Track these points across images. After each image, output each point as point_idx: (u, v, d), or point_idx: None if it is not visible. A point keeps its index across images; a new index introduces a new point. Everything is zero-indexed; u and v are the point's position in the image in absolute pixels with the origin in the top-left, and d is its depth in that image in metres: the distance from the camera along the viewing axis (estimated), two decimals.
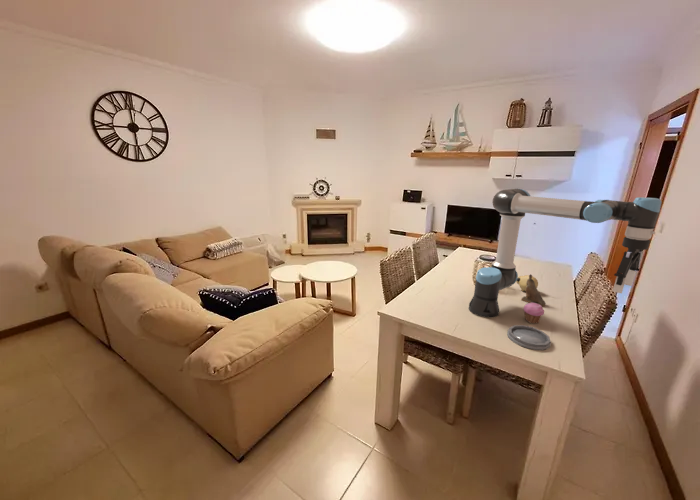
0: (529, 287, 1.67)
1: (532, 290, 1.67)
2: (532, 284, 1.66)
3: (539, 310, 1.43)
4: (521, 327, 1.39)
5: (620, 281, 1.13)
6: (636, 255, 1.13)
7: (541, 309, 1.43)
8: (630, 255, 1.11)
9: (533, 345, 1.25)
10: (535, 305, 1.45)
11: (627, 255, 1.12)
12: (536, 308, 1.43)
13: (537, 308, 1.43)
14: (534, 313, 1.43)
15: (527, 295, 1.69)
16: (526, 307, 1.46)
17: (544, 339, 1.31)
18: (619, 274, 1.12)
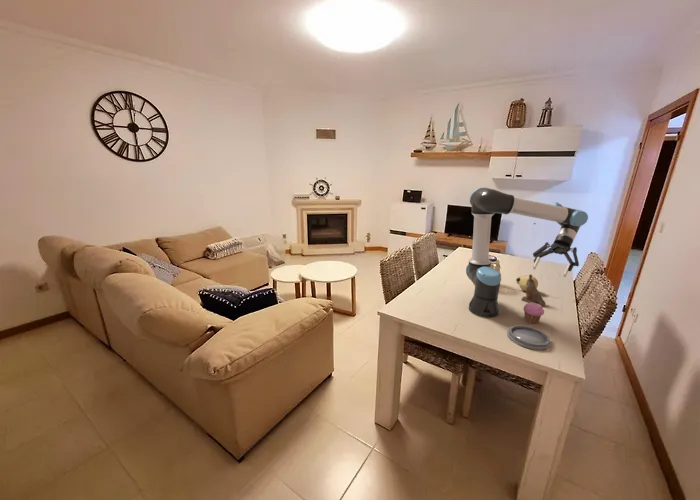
0: (529, 287, 1.67)
1: (532, 290, 1.67)
2: (532, 284, 1.66)
3: (539, 310, 1.43)
4: (521, 327, 1.39)
5: None
6: None
7: (541, 309, 1.43)
8: (576, 251, 1.47)
9: (533, 345, 1.25)
10: (535, 305, 1.45)
11: (576, 250, 1.46)
12: (536, 308, 1.43)
13: (537, 308, 1.43)
14: (534, 313, 1.43)
15: (527, 295, 1.69)
16: (526, 307, 1.46)
17: (544, 339, 1.31)
18: None
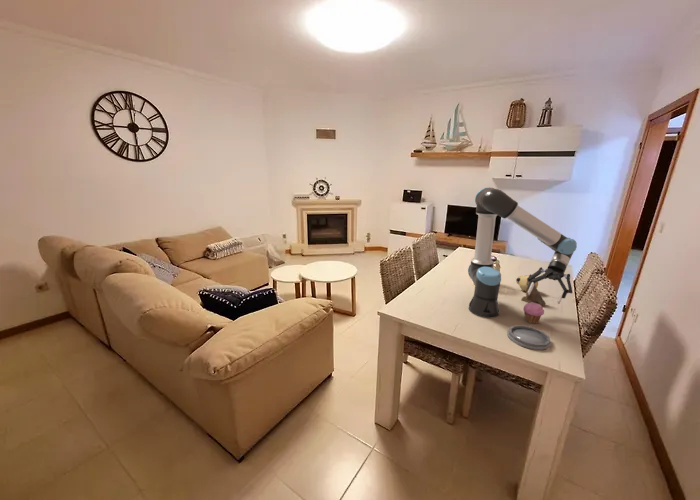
0: None
1: (532, 290, 1.67)
2: None
3: (539, 310, 1.43)
4: (521, 327, 1.39)
5: (565, 295, 1.44)
6: None
7: (541, 309, 1.43)
8: None
9: (533, 345, 1.25)
10: (535, 305, 1.45)
11: (569, 277, 1.47)
12: (536, 308, 1.43)
13: (537, 308, 1.43)
14: (534, 313, 1.43)
15: (527, 295, 1.69)
16: (526, 307, 1.46)
17: (544, 339, 1.31)
18: None
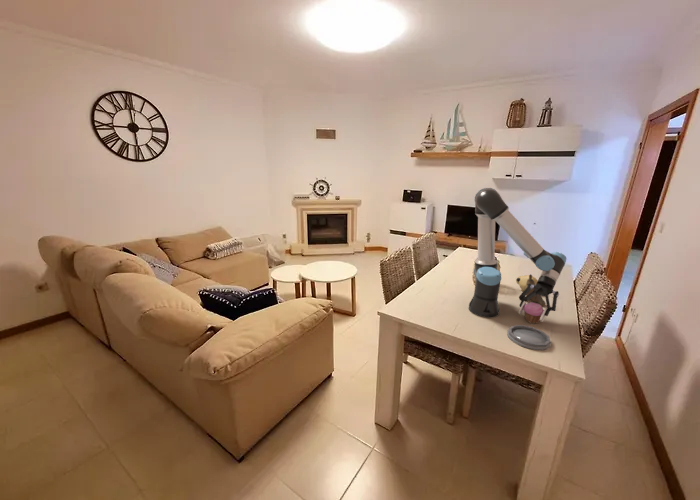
0: None
1: (532, 290, 1.67)
2: (532, 284, 1.66)
3: (539, 310, 1.43)
4: (521, 327, 1.39)
5: (548, 313, 1.42)
6: None
7: (541, 309, 1.43)
8: (558, 295, 1.45)
9: (533, 345, 1.25)
10: (535, 305, 1.45)
11: (557, 294, 1.44)
12: (536, 308, 1.43)
13: (537, 308, 1.43)
14: (534, 313, 1.43)
15: None
16: (526, 307, 1.46)
17: (544, 339, 1.31)
18: (554, 308, 1.41)
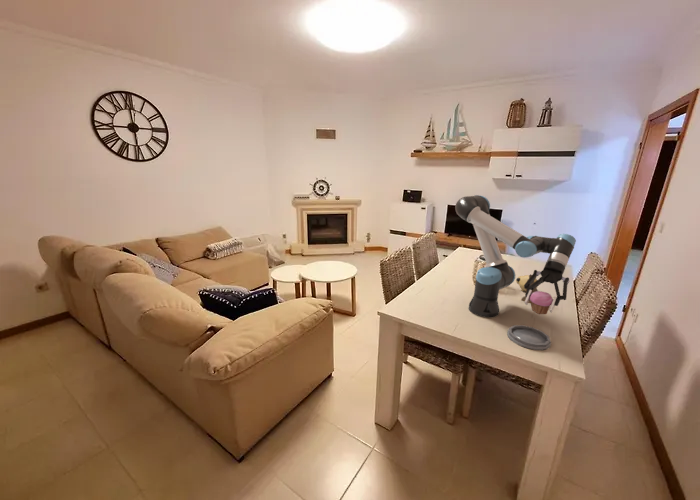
0: None
1: (532, 290, 1.67)
2: None
3: (548, 299, 1.26)
4: (521, 327, 1.39)
5: (558, 302, 1.25)
6: None
7: (550, 298, 1.26)
8: (568, 282, 1.28)
9: (533, 345, 1.25)
10: (543, 294, 1.28)
11: (568, 281, 1.27)
12: (545, 297, 1.26)
13: (546, 297, 1.26)
14: (542, 303, 1.26)
15: None
16: (533, 296, 1.29)
17: (544, 339, 1.31)
18: (565, 297, 1.25)
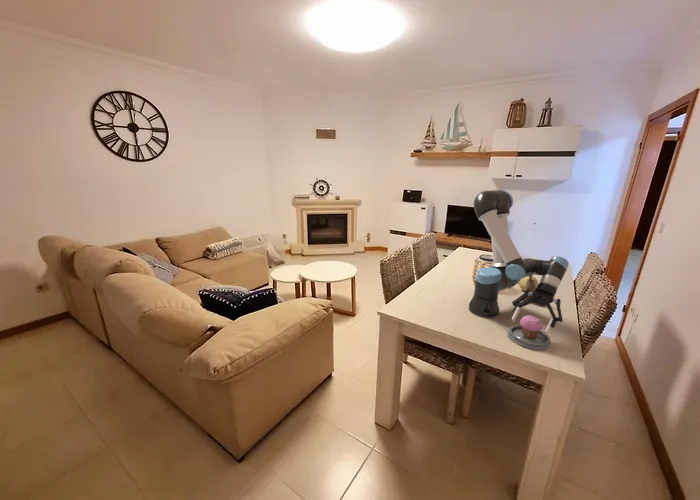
0: (529, 287, 1.67)
1: (532, 290, 1.67)
2: (533, 284, 1.66)
3: (537, 324, 1.27)
4: None
5: None
6: None
7: (540, 323, 1.27)
8: (560, 303, 1.29)
9: (533, 345, 1.25)
10: (533, 319, 1.29)
11: (560, 302, 1.28)
12: (534, 322, 1.28)
13: (535, 322, 1.27)
14: (532, 328, 1.27)
15: None
16: (523, 321, 1.30)
17: (544, 339, 1.31)
18: (562, 319, 1.24)
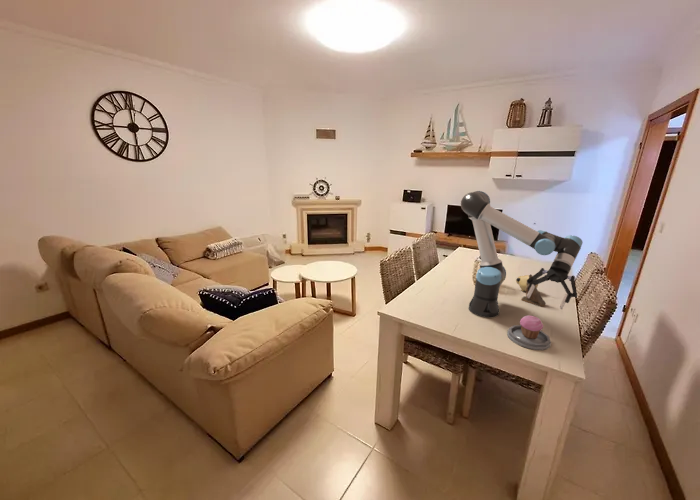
0: None
1: None
2: None
3: (537, 324, 1.27)
4: None
5: (569, 299, 1.29)
6: None
7: (540, 323, 1.27)
8: (574, 279, 1.33)
9: (533, 345, 1.25)
10: (533, 319, 1.29)
11: (574, 279, 1.32)
12: (534, 322, 1.28)
13: (535, 322, 1.28)
14: (532, 328, 1.27)
15: None
16: (523, 321, 1.30)
17: (544, 339, 1.31)
18: (576, 294, 1.28)
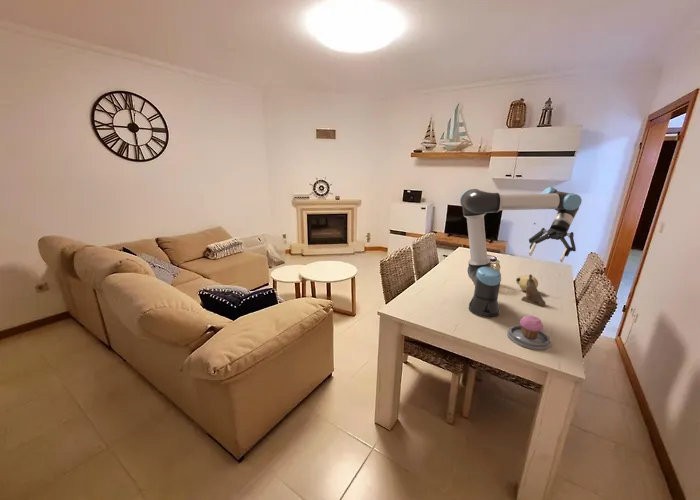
0: (529, 287, 1.67)
1: (532, 290, 1.67)
2: (533, 284, 1.66)
3: (537, 324, 1.27)
4: None
5: (568, 253, 1.39)
6: None
7: (540, 323, 1.27)
8: (573, 236, 1.43)
9: (533, 345, 1.25)
10: (533, 319, 1.29)
11: (573, 235, 1.42)
12: (534, 322, 1.28)
13: (535, 322, 1.28)
14: (532, 328, 1.27)
15: (527, 295, 1.69)
16: (523, 321, 1.30)
17: (544, 339, 1.31)
18: None
